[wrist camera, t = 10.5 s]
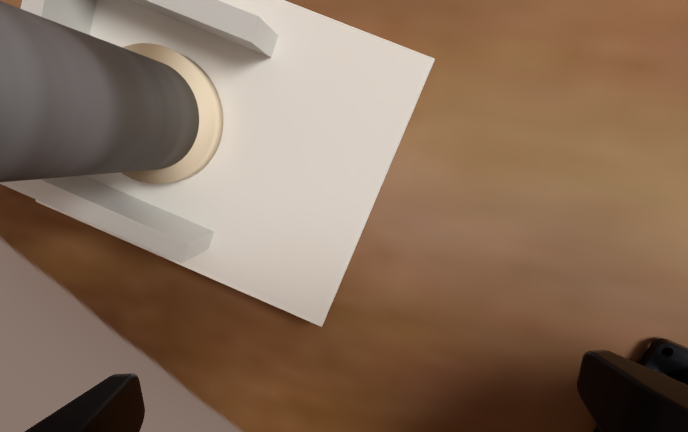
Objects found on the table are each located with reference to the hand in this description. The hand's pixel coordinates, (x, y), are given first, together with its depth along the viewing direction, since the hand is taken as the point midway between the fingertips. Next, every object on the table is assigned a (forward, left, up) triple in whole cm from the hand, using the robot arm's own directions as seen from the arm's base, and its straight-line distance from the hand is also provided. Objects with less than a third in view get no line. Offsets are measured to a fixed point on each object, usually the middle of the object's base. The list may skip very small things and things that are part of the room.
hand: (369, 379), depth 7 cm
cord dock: (+10, -2, -12) cm, 15 cm away
